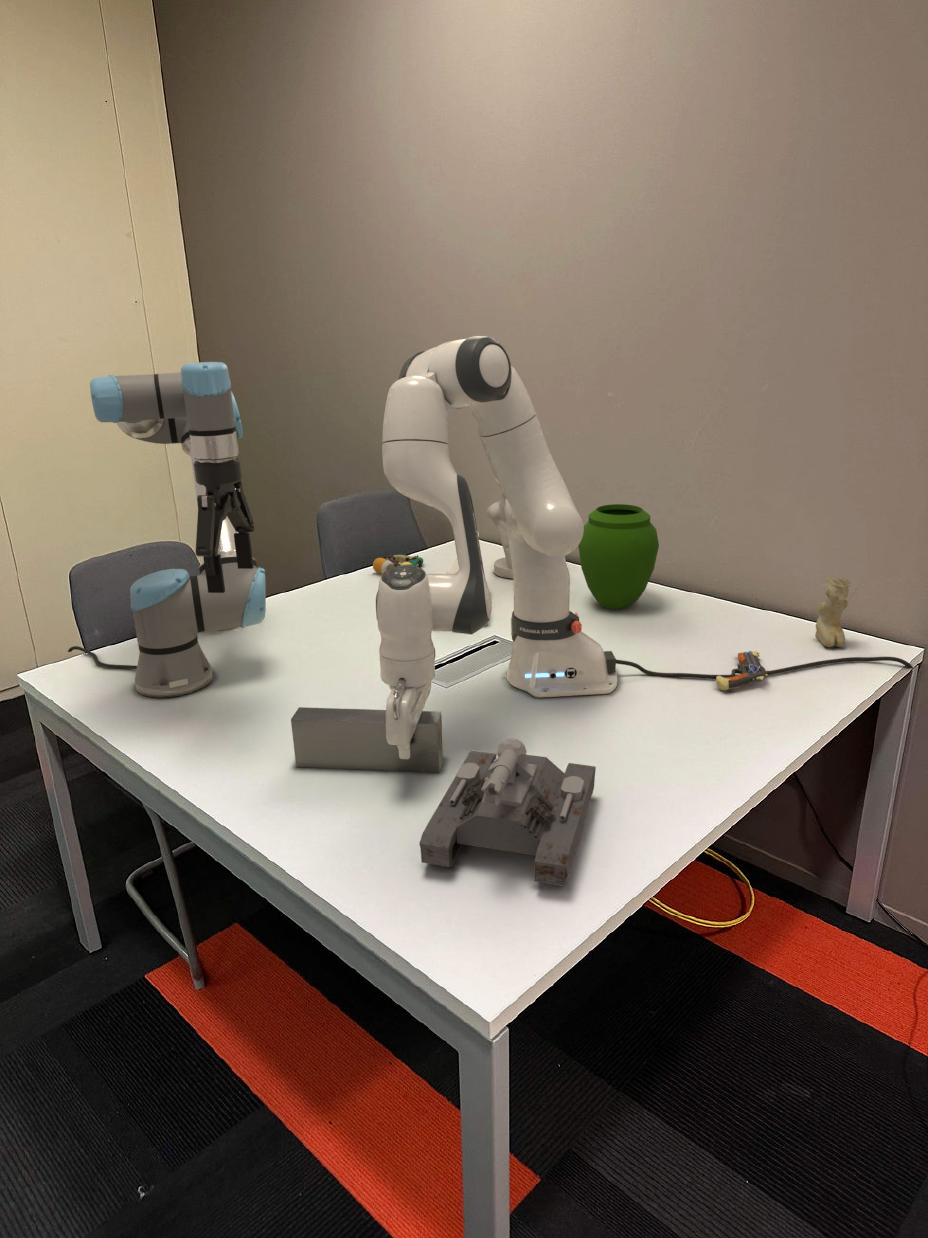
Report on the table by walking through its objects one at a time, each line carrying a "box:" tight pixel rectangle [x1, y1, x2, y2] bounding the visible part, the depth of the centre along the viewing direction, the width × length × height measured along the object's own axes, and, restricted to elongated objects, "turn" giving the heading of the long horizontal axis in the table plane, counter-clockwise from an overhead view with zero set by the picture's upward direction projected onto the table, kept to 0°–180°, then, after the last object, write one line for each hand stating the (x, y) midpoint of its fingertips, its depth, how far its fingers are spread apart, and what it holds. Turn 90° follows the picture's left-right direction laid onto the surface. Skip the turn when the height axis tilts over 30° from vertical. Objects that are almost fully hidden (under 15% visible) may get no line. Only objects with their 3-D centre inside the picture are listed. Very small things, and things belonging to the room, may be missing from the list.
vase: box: [577, 503, 660, 610], centre depth 210 cm, size 20×20×24 cm
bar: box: [290, 706, 444, 774], centre depth 143 cm, size 24×4×9 cm, turn 83°
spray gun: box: [372, 553, 424, 574], centre depth 246 cm, size 4×17×15 cm
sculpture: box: [814, 576, 852, 648], centre depth 185 cm, size 6×7×15 cm
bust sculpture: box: [485, 476, 513, 579], centre depth 231 cm, size 16×24×35 cm
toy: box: [418, 738, 597, 887], centre depth 122 cm, size 25×20×15 cm
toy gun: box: [715, 650, 768, 691], centre depth 173 cm, size 3×19×10 cm
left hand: (232, 579), depth 150 cm, fingers open, 13 cm apart
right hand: (411, 742), depth 142 cm, fingers open, 8 cm apart
